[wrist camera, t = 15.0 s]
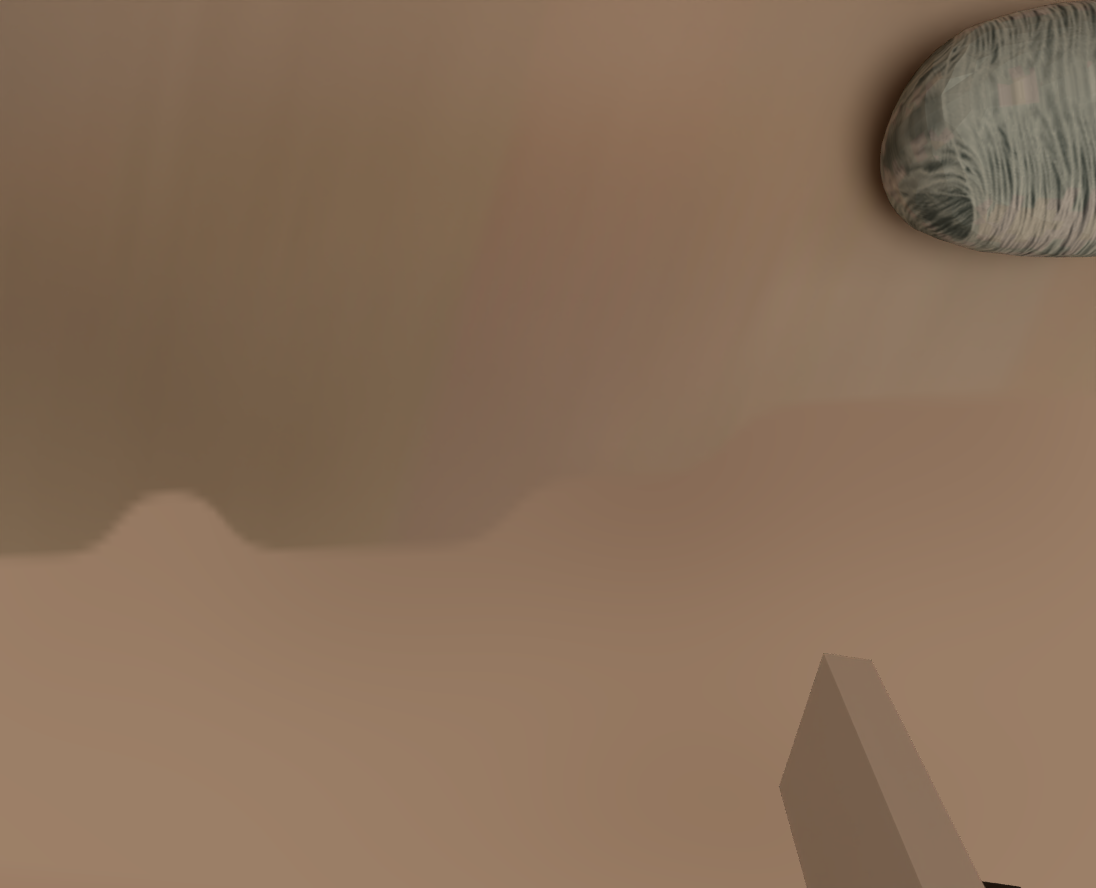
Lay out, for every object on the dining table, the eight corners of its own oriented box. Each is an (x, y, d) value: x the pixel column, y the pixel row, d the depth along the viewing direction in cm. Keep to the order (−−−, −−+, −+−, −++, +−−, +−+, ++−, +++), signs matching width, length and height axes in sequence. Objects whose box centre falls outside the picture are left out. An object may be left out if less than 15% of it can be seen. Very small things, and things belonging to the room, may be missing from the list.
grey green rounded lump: (849, 295, 36) (1026, 200, 26) (829, 76, 37) (992, -95, 27) (1130, 295, 38) (1386, 210, 29) (1104, 91, 39) (1342, -59, 30)
